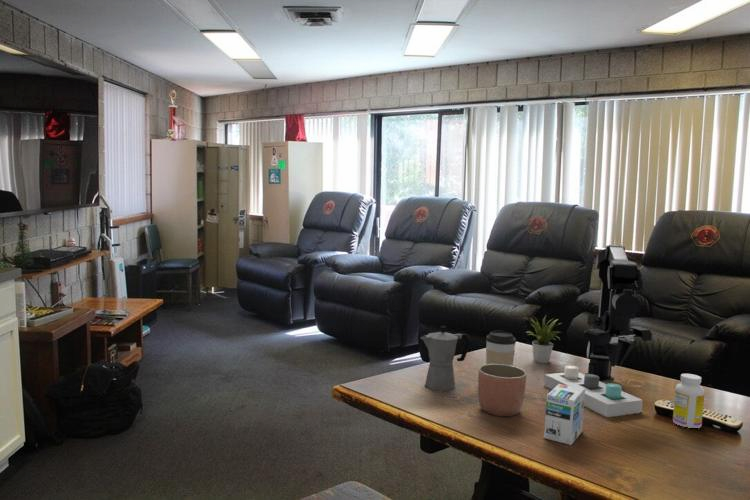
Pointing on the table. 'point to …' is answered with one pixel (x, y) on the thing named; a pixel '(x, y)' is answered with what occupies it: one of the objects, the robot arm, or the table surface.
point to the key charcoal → (591, 381)
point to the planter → (501, 389)
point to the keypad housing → (598, 396)
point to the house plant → (543, 341)
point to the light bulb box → (564, 414)
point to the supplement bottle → (689, 402)
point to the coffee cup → (500, 348)
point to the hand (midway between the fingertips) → (615, 366)
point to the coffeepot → (443, 358)
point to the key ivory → (571, 373)
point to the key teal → (613, 391)
